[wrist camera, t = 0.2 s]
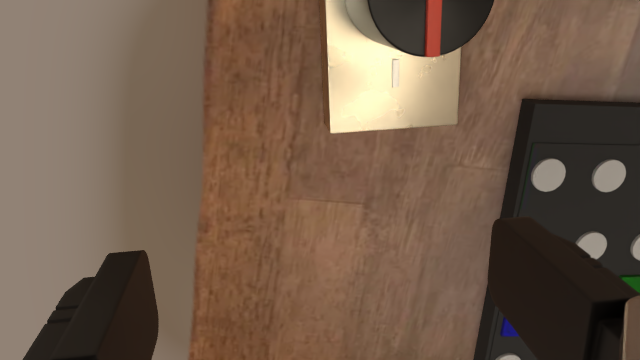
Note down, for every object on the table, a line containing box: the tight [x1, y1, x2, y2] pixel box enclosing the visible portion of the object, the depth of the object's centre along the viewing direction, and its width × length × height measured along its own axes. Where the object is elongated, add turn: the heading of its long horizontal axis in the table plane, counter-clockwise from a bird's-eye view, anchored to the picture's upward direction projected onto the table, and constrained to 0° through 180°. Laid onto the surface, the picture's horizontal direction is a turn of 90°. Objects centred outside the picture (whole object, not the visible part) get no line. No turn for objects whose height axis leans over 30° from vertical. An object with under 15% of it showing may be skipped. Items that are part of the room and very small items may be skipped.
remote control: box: [474, 99, 640, 360], centre depth 35 cm, size 11×30×2 cm, turn 177°
